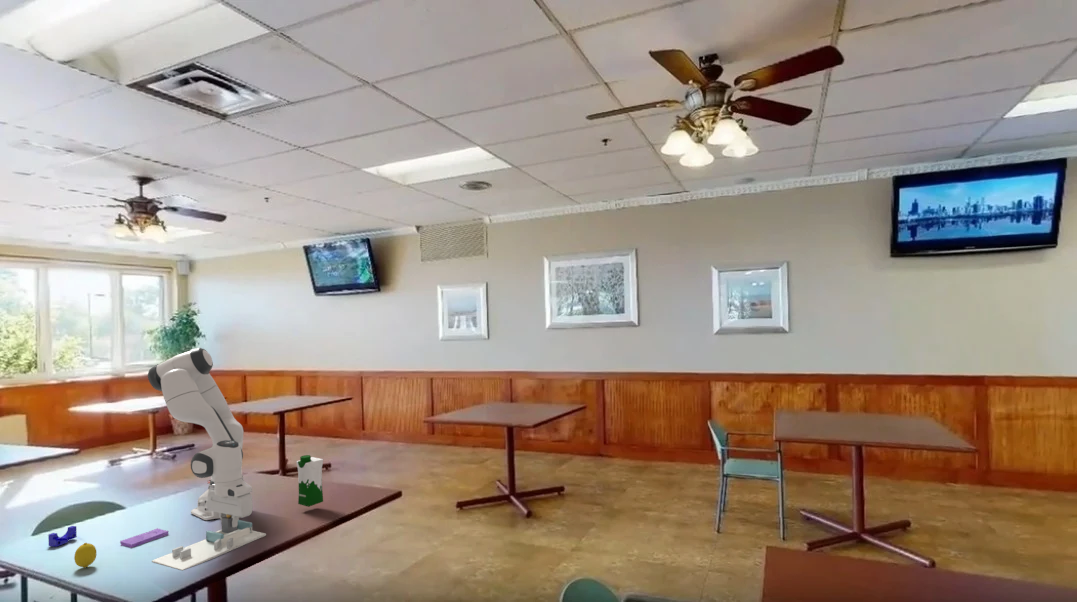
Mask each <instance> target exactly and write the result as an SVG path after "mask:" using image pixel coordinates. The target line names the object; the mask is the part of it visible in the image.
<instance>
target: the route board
mask: <svg viewBox="0 0 1077 602" xmlns="http://www.w3.org/2000/svg"><path fill="white" fill-rule="evenodd" d="M265 536H267V533H265V532H262V531H261V532H260V531H256V530H252V532H251V533H249V534H247V535H244V536H242V537H239V538H237V539H235V540H233V538H230V539H229V540H228V541H227V543H225V544H223V545H221V539H217V540H216V541H215V542H214V543H211V542H207V541H206V538H205V539H203V540H200V541H198V542H195V543H193V544H190V545H187V546H185V547H184V545H180V546H178V547H175V548H172V549H171V550H172V552H170V553H167V554H165V555H162V556H160V557H157V558H155V559H152V560H151V563H154V564H158V565H161V566H165V567H168V568H172V569H176V570H180V571H185V570H187V569H190V568H192V567H195V566H198V565H201V564H203V563H205V562H207V561H210V560H213V559H215V558H217V557H219V556H222V555H224V554H226V553H228V552H232V551H233V550H235V549H238V548H240V547H242V546H244V545H247V544H250V543H251V542H255V541H256V540H258V539H260V538H263V537H265Z"/></svg>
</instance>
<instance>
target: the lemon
mask: <svg viewBox="0 0 1077 602" xmlns="http://www.w3.org/2000/svg"><path fill="white" fill-rule="evenodd" d="M73 559H74V563H75V564H76V565H77V567H80V568H81V567H82V568H84V569H86V568H85V567H87V568H88V567H90V566H91V565H92V564H93V563H94V562H95V561H96V559H97V548H96V547H95V545H94V544H92V543H87V542H83V544H82V545H79V546H78V547H77V548H76V550H75V552H74V558H73Z"/></svg>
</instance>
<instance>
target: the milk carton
mask: <svg viewBox="0 0 1077 602" xmlns="http://www.w3.org/2000/svg"><path fill="white" fill-rule="evenodd" d="M299 457H300V458H299V460H296V467H297V473H298V476H297V477H298V478H297V479H298V498H297V499H298V501H297V504H298V505H300V506H304V507H308V508H309V507H312V506H315V505H317V504H321V503H323V502H324V496H323V495H324V492H323V464H324V459H323V458H319V457H314V456H311V455H310V454H309V455H308V454H306V455H301V456H299Z"/></svg>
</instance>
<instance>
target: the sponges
mask: <svg viewBox="0 0 1077 602" xmlns="http://www.w3.org/2000/svg"><path fill="white" fill-rule="evenodd" d="M168 535H169V530H165V529H161V528H158V527H157V528H155V529H152V530H149V531H148V532H143V533H140V534H137V535H134V536H131V537H129V538H125V539H122V540H120V541H119V543H120V547H122V546H124V547H128V548H134V547H137V546H141V545H144V544H145V543H149V542H152V541H154V540H157V539H160V538H163V537H167V536H168Z"/></svg>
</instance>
